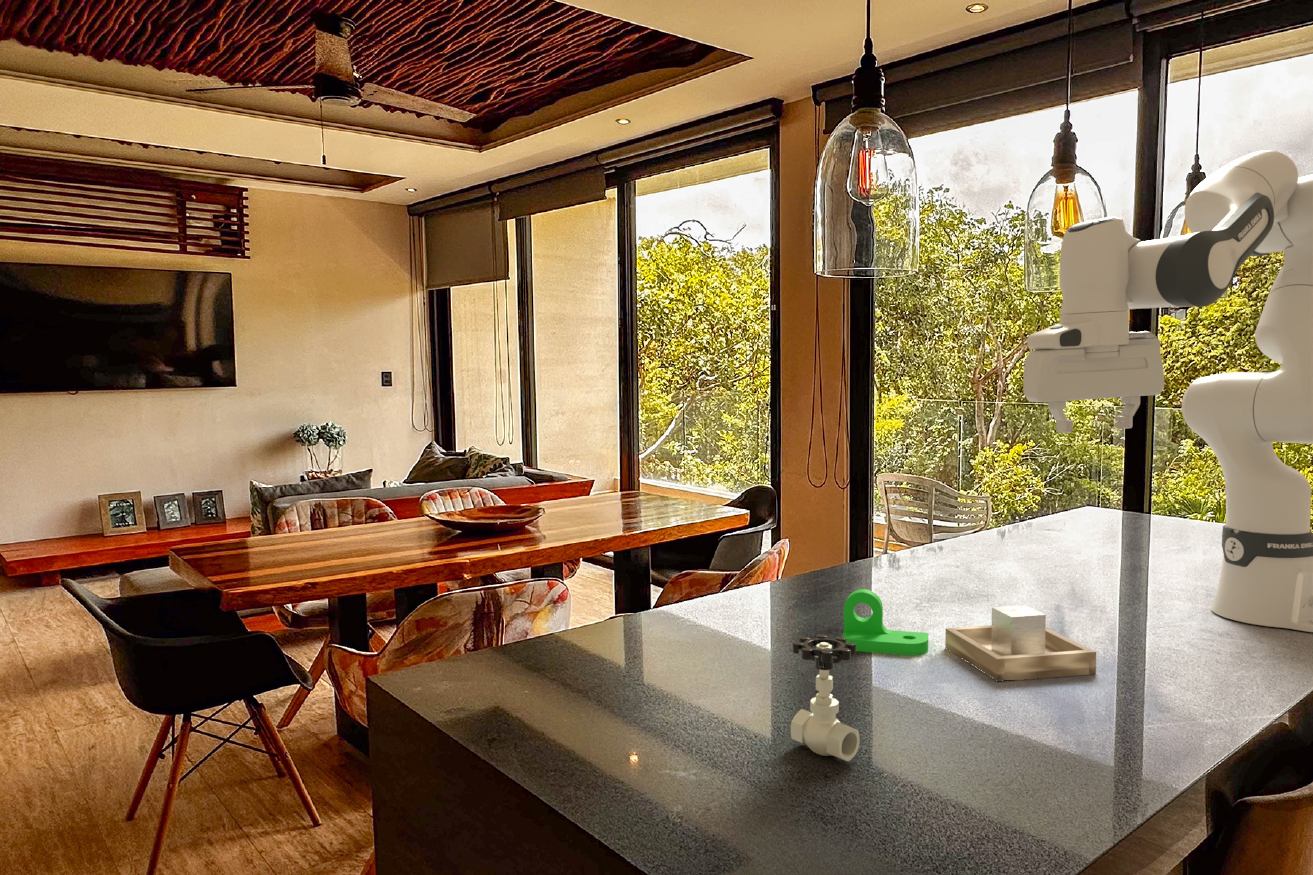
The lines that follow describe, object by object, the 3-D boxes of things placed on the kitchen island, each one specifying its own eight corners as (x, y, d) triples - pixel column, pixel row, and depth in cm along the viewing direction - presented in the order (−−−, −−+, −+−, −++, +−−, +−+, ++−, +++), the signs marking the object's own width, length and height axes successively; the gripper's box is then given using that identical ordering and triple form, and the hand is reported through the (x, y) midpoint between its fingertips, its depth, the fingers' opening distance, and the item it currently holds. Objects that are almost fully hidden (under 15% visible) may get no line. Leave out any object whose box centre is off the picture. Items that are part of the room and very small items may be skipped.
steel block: (1024, 646, 126) (1024, 605, 125) (1045, 658, 121) (1045, 614, 120) (991, 649, 125) (991, 607, 124) (1010, 660, 120) (1011, 617, 119)
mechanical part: (841, 652, 129) (840, 597, 128) (845, 640, 134) (845, 587, 134) (927, 659, 125) (928, 603, 124) (928, 646, 131) (928, 592, 130)
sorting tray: (1034, 642, 131) (1034, 622, 131) (1095, 673, 117) (1096, 651, 117) (945, 648, 129) (945, 628, 128) (997, 681, 115) (997, 659, 115)
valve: (820, 735, 99) (820, 630, 98) (869, 754, 94) (869, 643, 93) (780, 752, 95) (779, 642, 94) (829, 773, 90) (828, 657, 89)
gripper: (1144, 331, 132) (1144, 424, 133) (1016, 337, 128) (1017, 433, 130) (1175, 329, 125) (1175, 427, 127) (1042, 336, 122) (1043, 436, 123)
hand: (1094, 430), depth 128 cm, fingers open, 8 cm apart
